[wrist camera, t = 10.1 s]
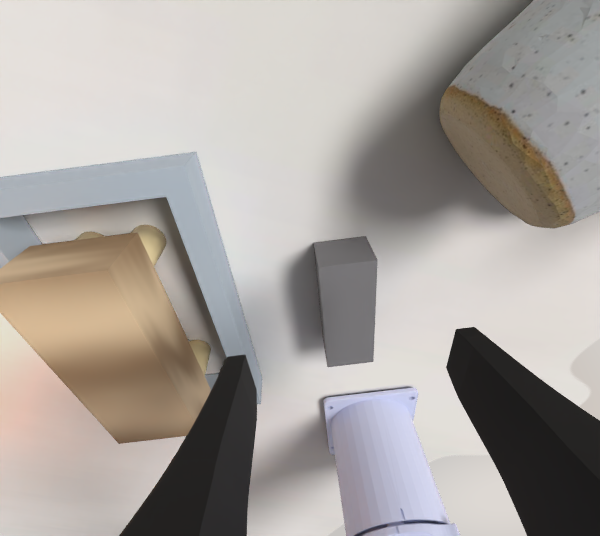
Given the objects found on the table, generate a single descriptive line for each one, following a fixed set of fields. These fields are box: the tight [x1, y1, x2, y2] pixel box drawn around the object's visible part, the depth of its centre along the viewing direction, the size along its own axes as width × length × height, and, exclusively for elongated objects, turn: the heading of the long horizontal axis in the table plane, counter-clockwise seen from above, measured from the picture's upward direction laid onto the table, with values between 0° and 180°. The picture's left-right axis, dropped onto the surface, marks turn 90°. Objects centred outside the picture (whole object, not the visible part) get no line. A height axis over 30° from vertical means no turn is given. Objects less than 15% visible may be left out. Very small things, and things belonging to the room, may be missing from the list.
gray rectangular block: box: [314, 236, 377, 367], centre depth 19 cm, size 8×3×2 cm, turn 6°
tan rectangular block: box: [0, 232, 211, 444], centre depth 16 cm, size 12×5×3 cm, turn 6°
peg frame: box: [0, 152, 262, 404], centre depth 19 cm, size 17×11×2 cm, turn 6°
